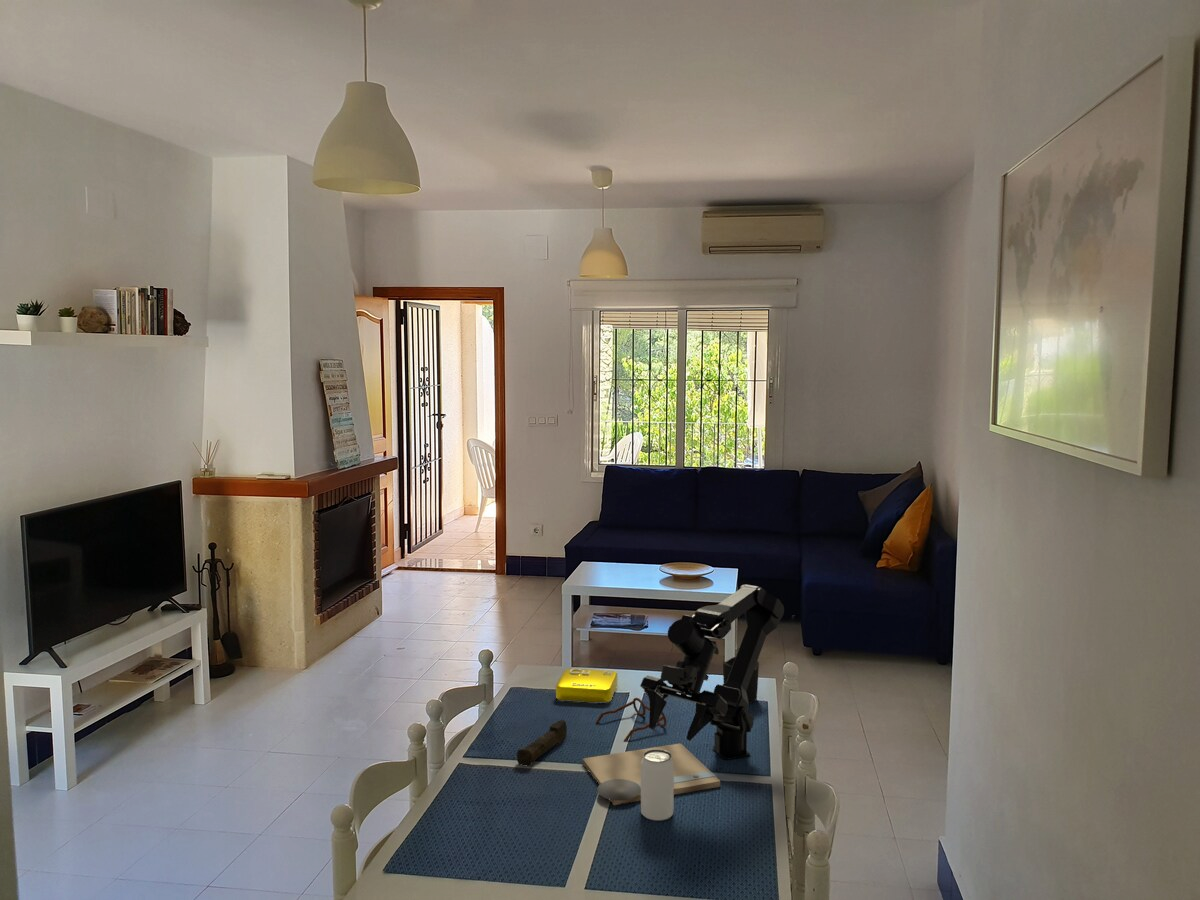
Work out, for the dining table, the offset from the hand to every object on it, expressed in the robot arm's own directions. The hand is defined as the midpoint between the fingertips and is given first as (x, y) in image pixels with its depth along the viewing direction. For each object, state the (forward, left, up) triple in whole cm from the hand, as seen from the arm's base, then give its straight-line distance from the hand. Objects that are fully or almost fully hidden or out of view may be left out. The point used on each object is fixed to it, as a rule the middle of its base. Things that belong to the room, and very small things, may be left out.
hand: (669, 734), depth 182 cm
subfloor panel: (+1, -9, -13) cm, 16 cm away
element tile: (-3, -61, -14) cm, 62 cm away
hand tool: (+18, -30, -14) cm, 38 cm away
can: (+5, +6, -13) cm, 16 cm away
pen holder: (-40, -43, -13) cm, 60 cm away
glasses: (-5, -36, -14) cm, 38 cm away
